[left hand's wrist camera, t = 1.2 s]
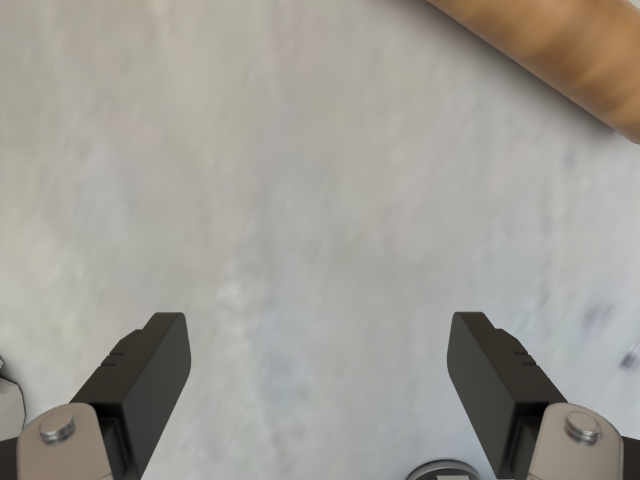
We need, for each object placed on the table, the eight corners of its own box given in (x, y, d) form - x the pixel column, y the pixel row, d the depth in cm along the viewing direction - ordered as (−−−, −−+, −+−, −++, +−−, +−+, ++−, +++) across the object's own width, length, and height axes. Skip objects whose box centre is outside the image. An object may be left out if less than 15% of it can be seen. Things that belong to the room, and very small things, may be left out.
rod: (666, 70, 29) (749, 64, 24) (610, 140, 31) (674, 150, 26) (407, -125, 25) (432, -188, 20) (359, -31, 27) (370, -64, 21)
